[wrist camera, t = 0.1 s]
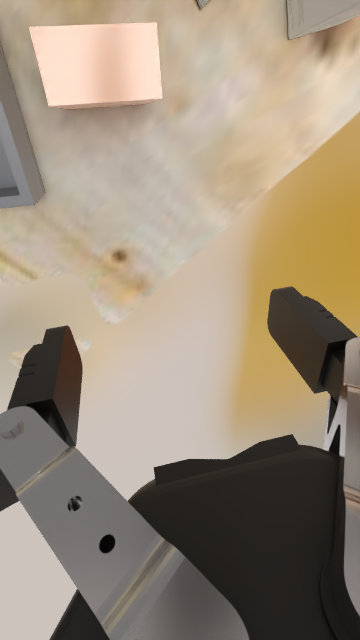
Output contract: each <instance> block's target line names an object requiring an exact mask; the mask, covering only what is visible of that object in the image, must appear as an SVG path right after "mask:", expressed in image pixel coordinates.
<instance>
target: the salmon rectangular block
mask: <svg viewBox="0 0 360 640" xmlns="http://www.w3.org/2000/svg"><path fill="white" fill-rule="evenodd" d="M29 30H30V34H31V38H32V42H33V46H34V50H35V54H36V58H37V62H38V66H39V70H40V74H41V78H42V82H43V86H44V90H45V94H46V98H47V102H48V106H51V107H57V108H63V109H80V108H95V107H109V106H123V105H138V104H147V103H150V102H153V101H156V100H159V99H162V86H161V73H160V60H159V47H158V33H157V22H152V23H123V24H95V25H67V26H39V27H29Z"/></svg>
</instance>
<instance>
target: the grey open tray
mask: <svg viewBox="0 0 360 640" xmlns="http://www.w3.org/2000/svg"><path fill="white" fill-rule="evenodd" d="M44 193H45V190H44V187H43V183H42V180H41V177H40V173H39V170H38V167H37V163H36V160H35V157H34V153H33V150H32V146H31V143H30V140H29V136H28V133H27V130H26V126H25V123H24V120H23V116H22V113H21V110H20V106H19V103H18V99H17V96H16V93H15V89H14V86H13V83H12V79H11V76H10V73H9V69H8V66H7V62H6V59H5V56H4V52H3V49H2V46H1V42H0V209H1V208H11V207H20V206H29V205H35V204H36V203H37V201H38V200H39V199H40V198H41V197H42V196H43V194H44Z"/></svg>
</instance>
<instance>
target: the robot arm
mask: <svg viewBox="0 0 360 640" xmlns="http://www.w3.org/2000/svg"><path fill="white" fill-rule="evenodd" d="M268 329H269V332H270V334H271V336H272V337H273V339H274V340H275V341H276V343H277V344H278V345H279V347H280V348H281V349H282V351H283V352H284V353H285V355H286V356H287V357H288V359H289V360H290V362H291V363H292V364H293V365H294V367H295V368H296V370H297V371H298V372H299V373H300V375H301V376H302V378H303V379H304V380H305V382H306V383H307V384H308V386H309V387H310V388H311V390H312V391H313V392H314V393H320V392H324V391H328V393H329V394H330V397H329V400H328V408H327V417H326V427H325V436H324V444H323V449H320V448H317V447H312V446H306V445H298V443H297V441H296V439H295V438H294V436H293V434H291V435H287V436H283V437H278V438H274V439H270V440H266V441H262V442H259V443H257V444H255V445H254V446H252V447H250V448H248V449H246V450H245V451H243V452H241V453H239V454H237V455H236V456H234V457H232V458H230V459H187V460H183V461H179V462H175V463H170V464H166V465H162V466H158V467H154V472H155V479H154V480H152V481H150V482H149V483H147V484H146V485H145V486H143V487H142V488H140V489H139V490H138V491H137V492H136V493H135V494H134V495H133V496H132V497H131V498H130V499H129V500H128V501H127V500H126V499H124V497H123V496H122V495H121V494H120V493H119V492H118V491H117V490H116V489H115V488H114V487H113V486H112V485H111V484H110V483H109V482H108V481H107V480H106V479H105V478H104V477H103V476H102V474H101V473H100V472H99V471H98V470H97V469H96V468H95V467H94V466H93V465H92V464H91V463H90V462H89V461H88V460H87V459H86V458H85V457H84V456H83V455H82V454H81V453H80V451H79V450H78V449H76V448H75V446H76V440H77V429H78V416H79V405H80V394H81V383H82V362H81V357H80V354H79V352H78V349H77V346H76V343H75V341H74V338H73V335H72V332H71V330H70V328H69V326H62V327H57V328H50V329H47V330H46V332H45V335H44V339H43V343H42V344H37V345H34V346H33V347H32V348H31V349H30V350H29V352H28V353H27V354H26V355H25V357H24V360H23V363H22V368H21V369H20V372H19V378H18V379H17V382H16V385H15V388H14V390H13V393H12V397H11V400H10V403H9V406H8V409H7V411H5V412H3V413H1V414H0V511H2V510H4V509H5V508H7V507H9V506H11V505H12V504H14V503H16V502H18V501H20V502H21V503H22V505H23V507H24V508H25V510H26V511H27V513H28V514H29V516H30V517H31V519H32V520H33V522H34V523H35V524H36V526H37V528H38V529H39V531H40V532H41V534H42V535H43V537H44V538H45V540H46V541H47V543H48V544H49V546H50V547H51V549H52V550H53V552H54V553H55V555H56V557H57V558H58V560H59V561H60V563H61V564H62V566H63V567H64V569H65V570H66V572H67V573H68V575H69V576H70V578H71V579H72V581H73V582H74V584H75V585H76V587H77V588H78V589H77V590H76V592H75V594H74V596H73V598H72V600H71V602H70V603H69V605H68V607H67V609H66V611H65V612H64V614H63V616H62V618H61V620H60V622H59V624H58V625H57V627H56V629H55V631H54V633H53V634H52V636H51V638H50V640H360V337H357V336H356V335H355V334H354V333H353V332H352V331H350V329H348V328H347V327H346V326H345V325H344V324H343V323H342V322H340V321H339V320H338V319H337V318H336V317H334V316H333V314H331V313H330V312H329V311H327V309H326V308H325V307H324V306H322V305H321V304H320V303H319V302H318V301H315V300H313V299H311V298H309V297H307V296H304V297H303V296H302V295H301V294H300V293H299V292H298V291H297V290H296V289H295V288H294V287H285V288H280V289H274V290H272V292H271V295H270V304H269V313H268Z"/></svg>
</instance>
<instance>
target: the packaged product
mask: <svg viewBox="0 0 360 640" xmlns="http://www.w3.org/2000/svg"><path fill="white" fill-rule="evenodd" d="M209 1H210V0H197V2H198V4H199V6H200V9H202V8H203V7H204V6H205V5H206V4H207V3H208V2H209Z"/></svg>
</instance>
